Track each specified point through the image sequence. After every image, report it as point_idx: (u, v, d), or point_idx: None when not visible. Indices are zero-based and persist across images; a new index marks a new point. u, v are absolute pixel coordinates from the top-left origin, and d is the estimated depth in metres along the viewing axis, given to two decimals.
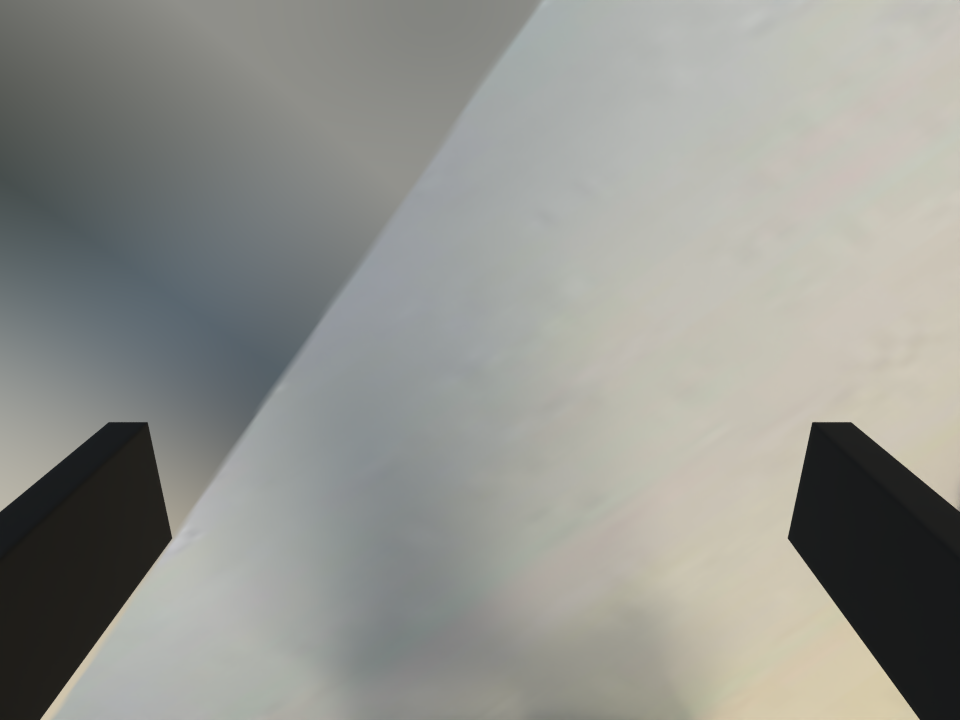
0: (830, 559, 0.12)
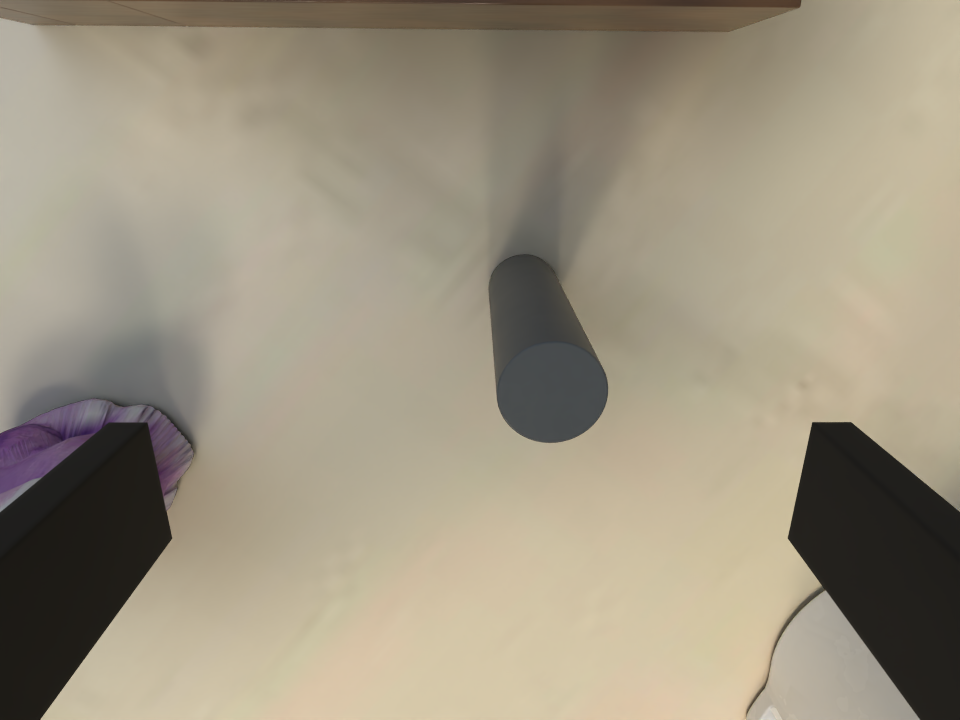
0: (830, 559, 0.12)
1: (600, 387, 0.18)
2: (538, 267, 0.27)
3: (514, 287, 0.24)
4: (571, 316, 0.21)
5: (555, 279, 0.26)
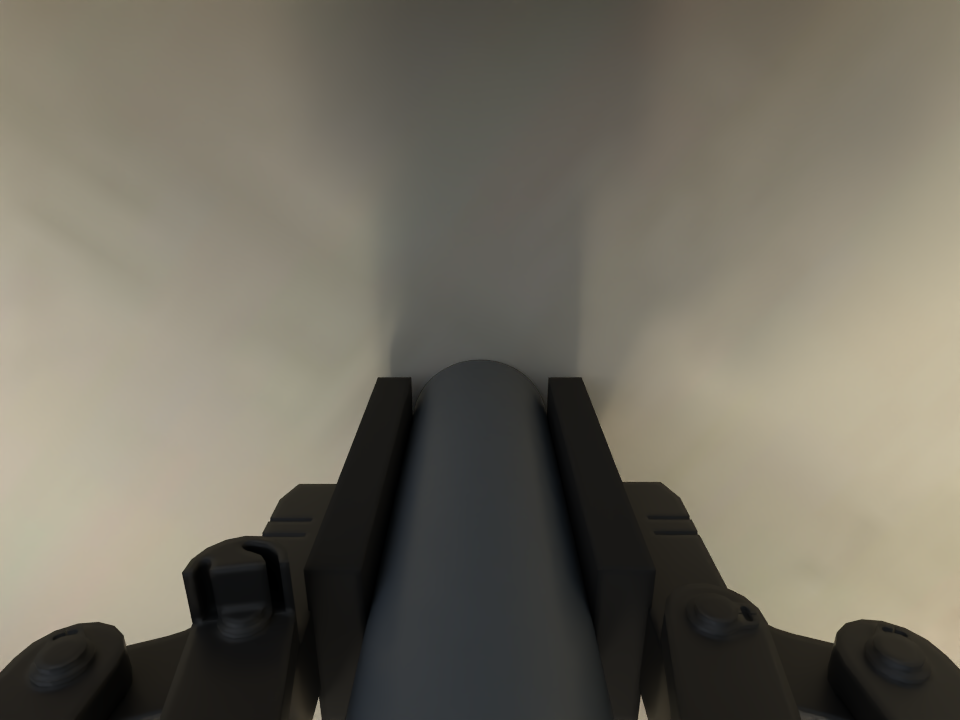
0: None
1: None
2: (501, 405, 0.12)
3: (431, 493, 0.10)
4: (567, 674, 0.07)
5: (536, 436, 0.12)
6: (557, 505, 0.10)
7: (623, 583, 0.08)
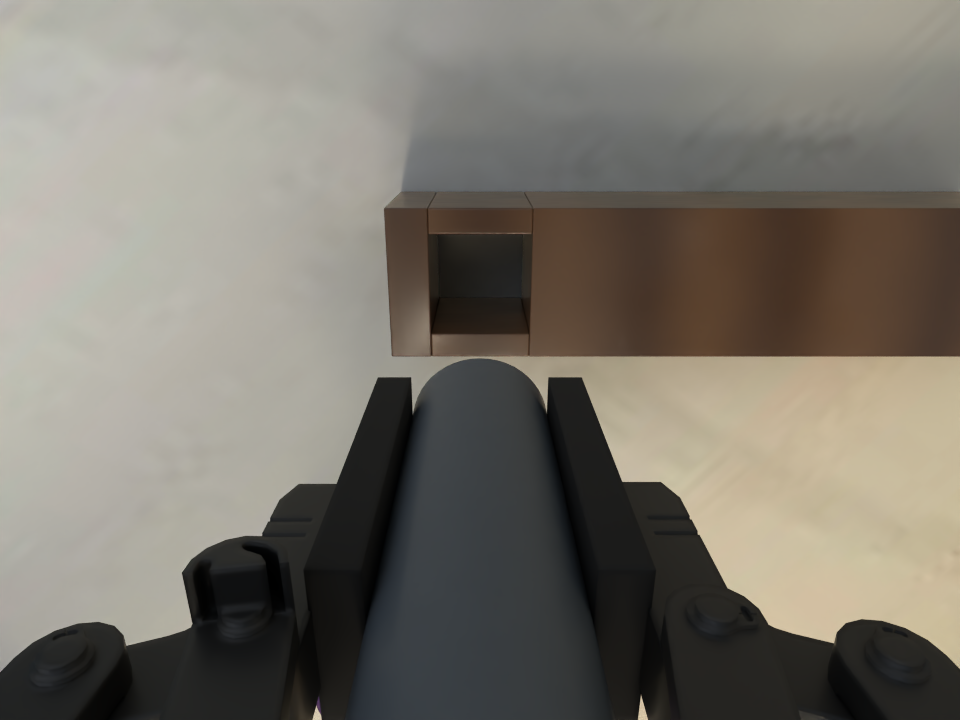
0: None
1: None
2: (501, 404, 0.12)
3: (431, 491, 0.10)
4: (567, 671, 0.07)
5: (536, 434, 0.12)
6: (557, 503, 0.10)
7: (623, 583, 0.08)
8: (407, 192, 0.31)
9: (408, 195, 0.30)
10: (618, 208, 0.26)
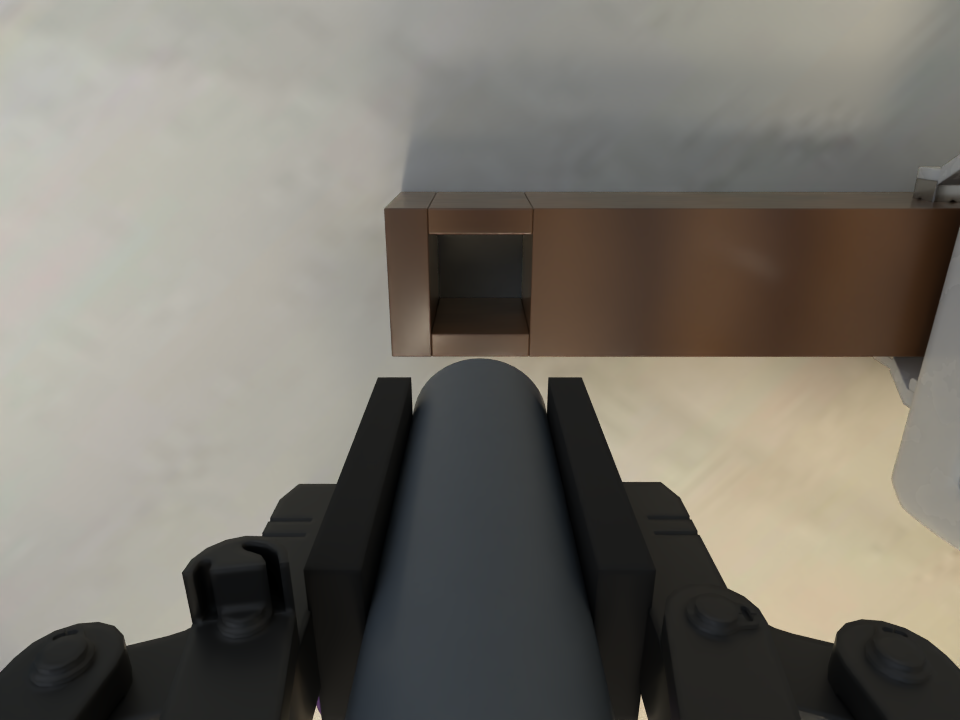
0: None
1: None
2: (501, 404, 0.12)
3: (431, 491, 0.10)
4: (567, 671, 0.07)
5: (536, 434, 0.12)
6: (557, 503, 0.10)
7: (623, 583, 0.08)
8: (407, 192, 0.31)
9: (408, 195, 0.30)
10: (618, 208, 0.26)
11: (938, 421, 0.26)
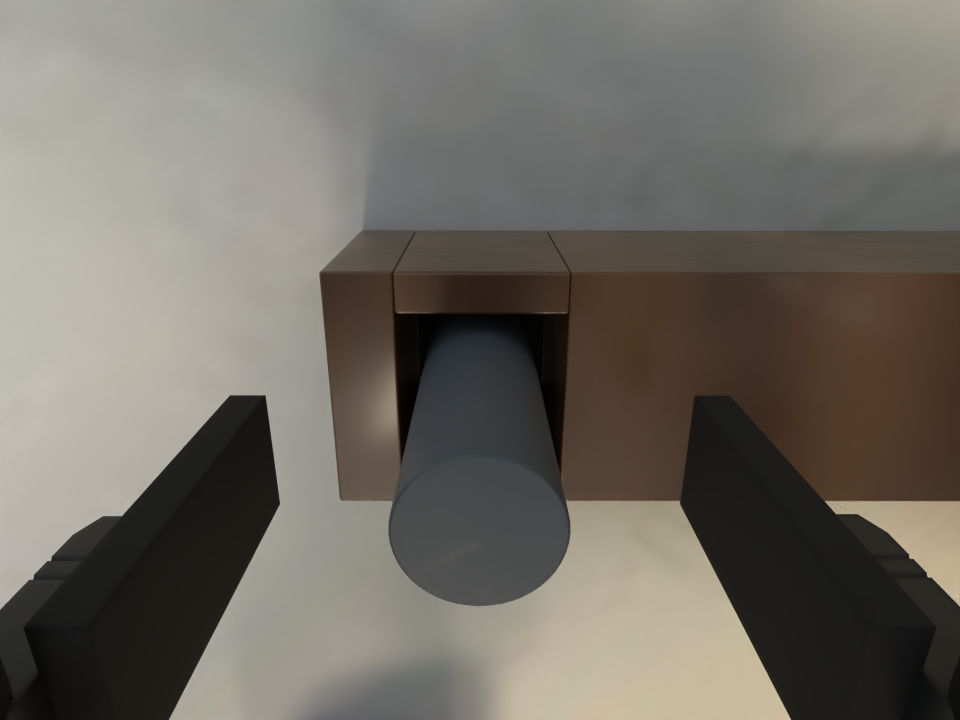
0: (705, 518, 0.13)
1: (557, 524, 0.11)
2: None
3: (451, 335, 0.17)
4: (522, 389, 0.14)
5: (515, 317, 0.19)
6: (525, 346, 0.17)
7: (896, 641, 0.07)
8: (370, 232, 0.21)
9: (370, 239, 0.20)
10: (714, 273, 0.16)
11: None
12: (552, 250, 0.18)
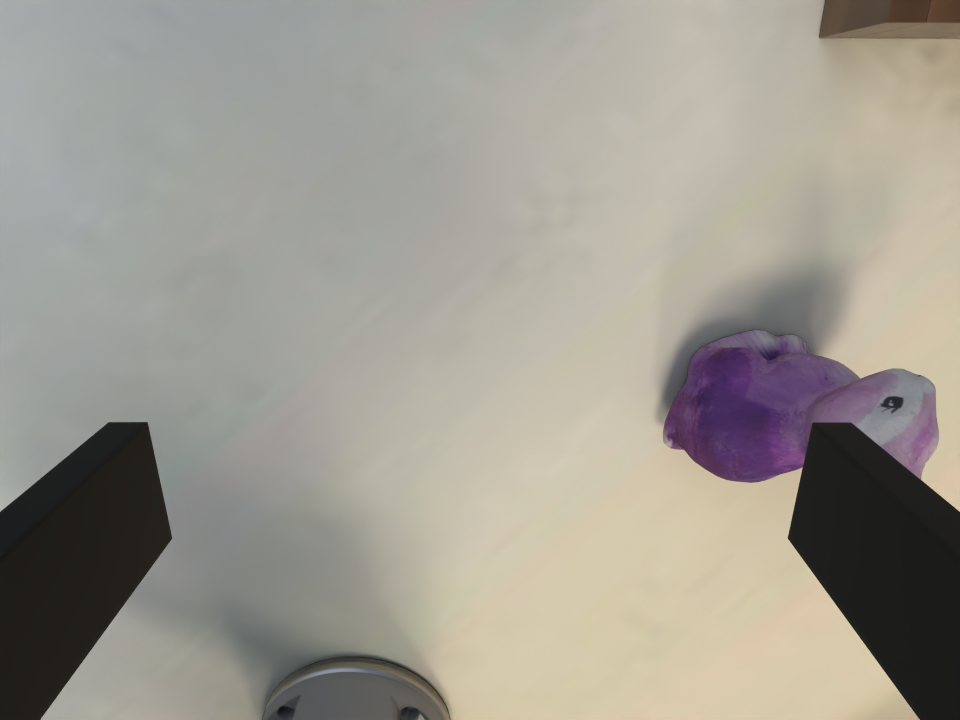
0: (830, 559, 0.12)
1: None
2: None
3: None
4: None
5: None
6: None
7: None
8: None
9: None
10: None
11: None
12: None
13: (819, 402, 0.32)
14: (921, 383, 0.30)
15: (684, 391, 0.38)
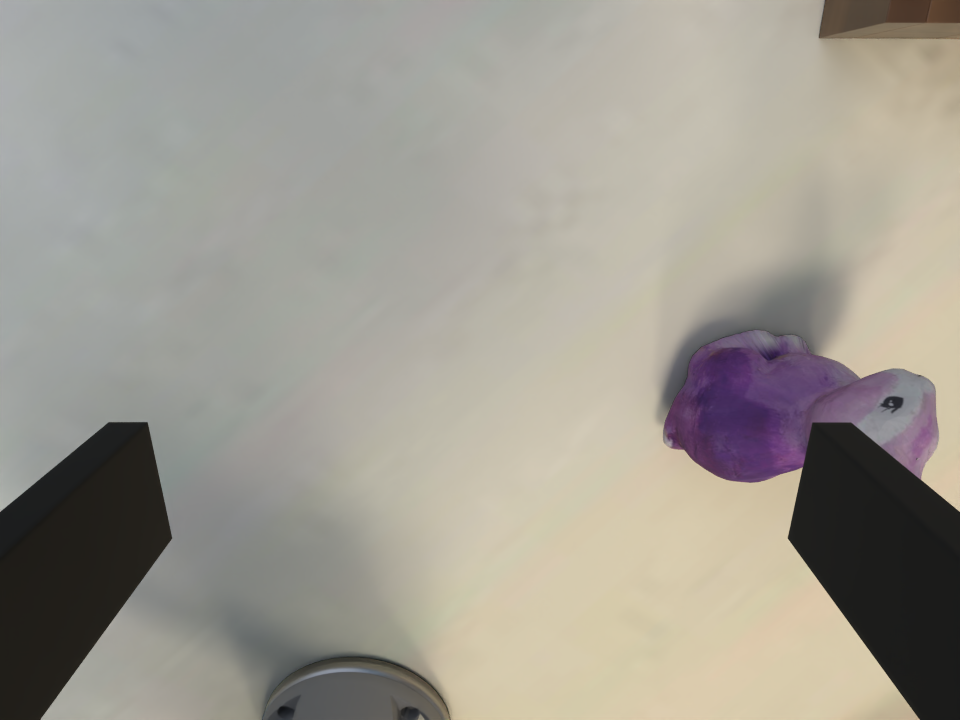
0: (830, 559, 0.12)
1: None
2: None
3: None
4: None
5: None
6: None
7: None
8: None
9: None
10: None
11: None
12: None
13: (819, 402, 0.32)
14: (921, 383, 0.30)
15: (684, 391, 0.38)
